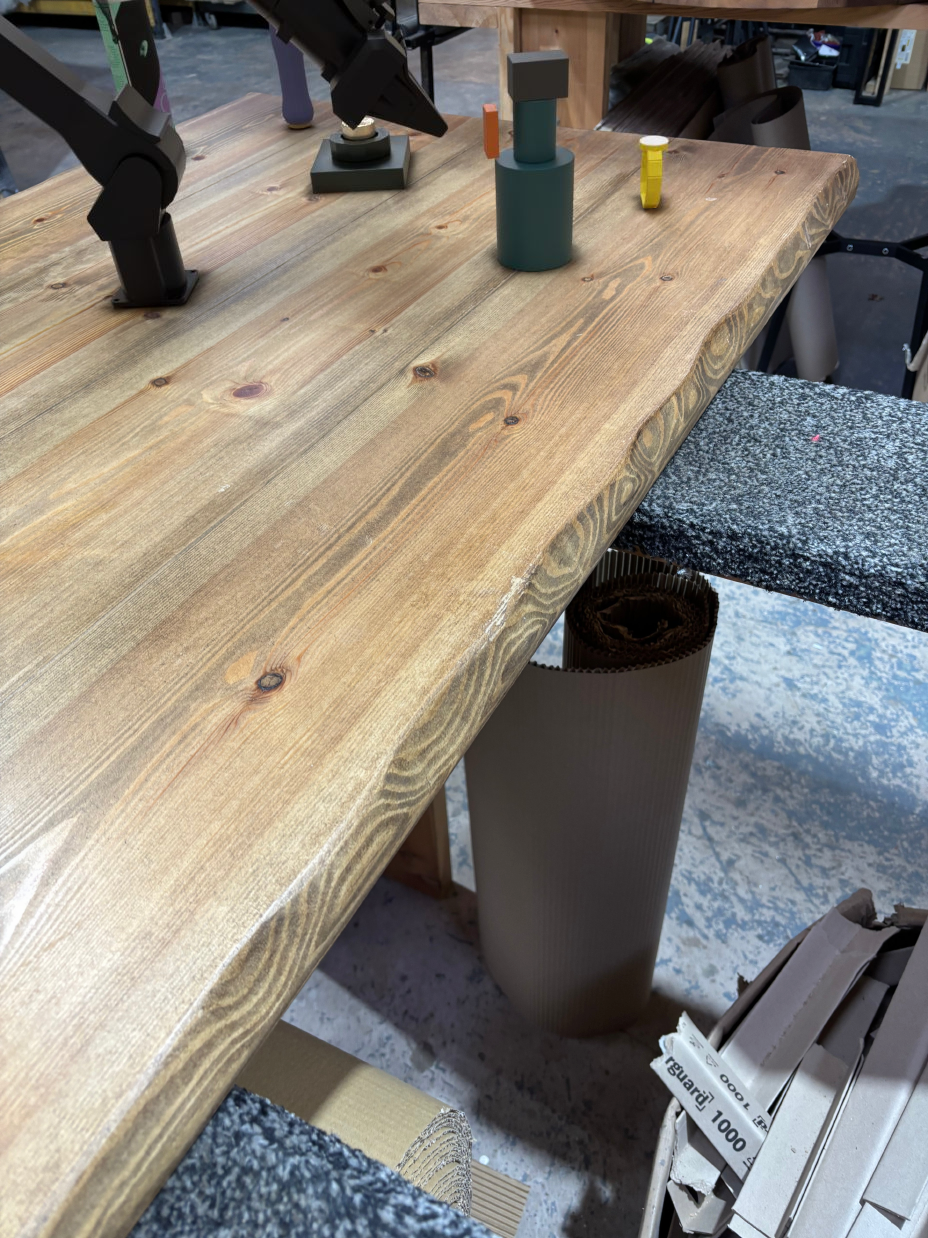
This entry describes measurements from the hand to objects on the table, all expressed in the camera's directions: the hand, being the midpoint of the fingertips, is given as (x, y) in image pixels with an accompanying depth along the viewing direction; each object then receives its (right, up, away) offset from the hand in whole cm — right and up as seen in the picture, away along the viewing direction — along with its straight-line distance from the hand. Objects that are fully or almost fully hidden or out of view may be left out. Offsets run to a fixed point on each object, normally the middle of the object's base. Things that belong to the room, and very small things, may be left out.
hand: (444, 131), depth 77 cm
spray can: (-36, +16, +36) cm, 53 cm away
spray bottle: (+8, -7, +8) cm, 13 cm away
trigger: (+4, -1, +2) cm, 4 cm away
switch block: (-10, +10, +28) cm, 31 cm away
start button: (-10, +12, +25) cm, 30 cm away
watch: (+20, +1, +16) cm, 26 cm away
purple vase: (-19, +23, +43) cm, 52 cm away
